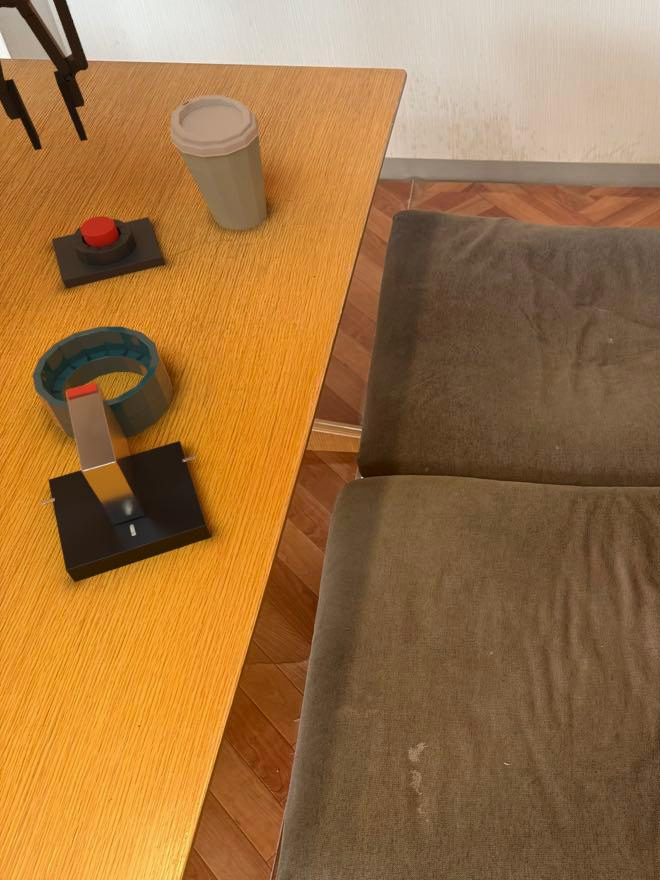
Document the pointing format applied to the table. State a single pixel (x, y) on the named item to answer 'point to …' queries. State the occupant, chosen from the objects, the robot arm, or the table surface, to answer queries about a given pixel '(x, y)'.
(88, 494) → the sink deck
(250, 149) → the disposable coffee cup
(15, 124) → the table surface
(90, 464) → the reflective bent rectangular block
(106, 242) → the button
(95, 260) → the button box
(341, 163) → the table surface
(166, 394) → the teal ring
